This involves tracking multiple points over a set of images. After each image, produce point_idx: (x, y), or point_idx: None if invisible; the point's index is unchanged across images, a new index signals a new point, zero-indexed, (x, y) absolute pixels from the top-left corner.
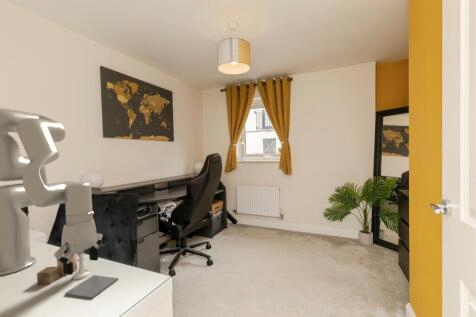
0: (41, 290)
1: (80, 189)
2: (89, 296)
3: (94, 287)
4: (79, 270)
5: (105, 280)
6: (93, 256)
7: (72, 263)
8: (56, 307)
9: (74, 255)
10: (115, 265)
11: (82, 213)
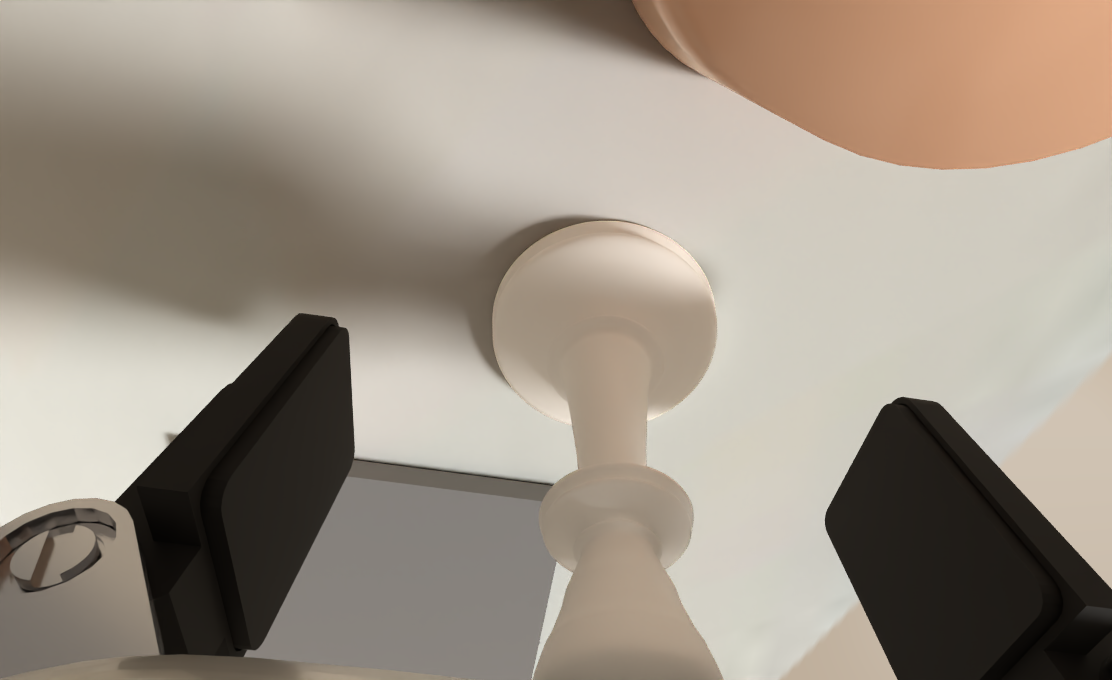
0: (114, 8)
1: None
2: None
3: (351, 625)
4: (565, 378)
5: (473, 648)
6: (879, 541)
7: (249, 641)
8: (40, 494)
9: (958, 160)
10: None
11: None
